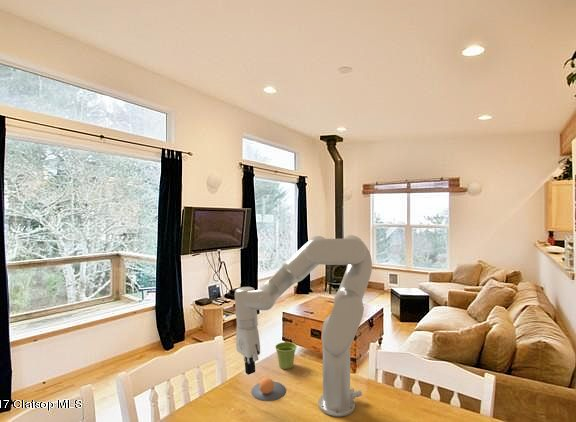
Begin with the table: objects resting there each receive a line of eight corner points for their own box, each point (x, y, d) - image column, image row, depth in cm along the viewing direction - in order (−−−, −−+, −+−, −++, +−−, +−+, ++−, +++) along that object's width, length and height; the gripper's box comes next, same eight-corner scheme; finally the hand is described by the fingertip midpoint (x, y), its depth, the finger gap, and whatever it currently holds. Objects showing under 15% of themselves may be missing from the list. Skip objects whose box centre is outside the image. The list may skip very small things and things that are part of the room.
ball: (256, 379, 125) (257, 389, 127) (263, 389, 120) (264, 400, 123) (268, 371, 127) (269, 382, 130) (276, 382, 123) (277, 392, 125)
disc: (277, 378, 135) (277, 378, 135) (291, 395, 123) (291, 394, 123) (246, 386, 130) (246, 385, 130) (258, 404, 118) (258, 403, 118)
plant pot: (270, 367, 145) (270, 347, 145) (283, 359, 153) (283, 340, 152) (288, 373, 139) (288, 352, 139) (300, 364, 147) (300, 345, 147)
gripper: (228, 320, 124) (231, 369, 124) (248, 330, 112) (252, 384, 112) (246, 315, 129) (249, 362, 129) (267, 324, 117) (270, 376, 117)
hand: (250, 372), depth 121 cm, fingers closed
